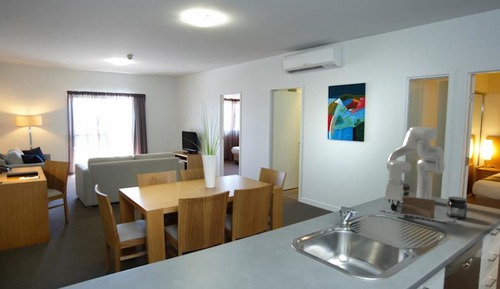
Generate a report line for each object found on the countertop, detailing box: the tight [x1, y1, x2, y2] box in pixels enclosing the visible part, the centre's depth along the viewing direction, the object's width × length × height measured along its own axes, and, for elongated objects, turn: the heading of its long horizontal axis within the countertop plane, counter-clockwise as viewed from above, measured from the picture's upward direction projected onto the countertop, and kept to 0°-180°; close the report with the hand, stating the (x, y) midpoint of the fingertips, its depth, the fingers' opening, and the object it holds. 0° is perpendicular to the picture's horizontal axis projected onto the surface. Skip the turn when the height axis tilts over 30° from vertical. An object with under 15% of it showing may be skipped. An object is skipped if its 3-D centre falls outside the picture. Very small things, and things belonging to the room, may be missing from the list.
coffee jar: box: [395, 182, 411, 211], centre depth 203 cm, size 10×8×19 cm
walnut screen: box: [397, 195, 436, 219], centre depth 189 cm, size 10×20×11 cm, turn 53°
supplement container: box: [446, 196, 468, 220], centre depth 192 cm, size 10×10×12 cm
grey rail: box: [378, 204, 458, 225], centre depth 192 cm, size 3×43×3 cm, turn 53°
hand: (393, 210), depth 194 cm, fingers closed
